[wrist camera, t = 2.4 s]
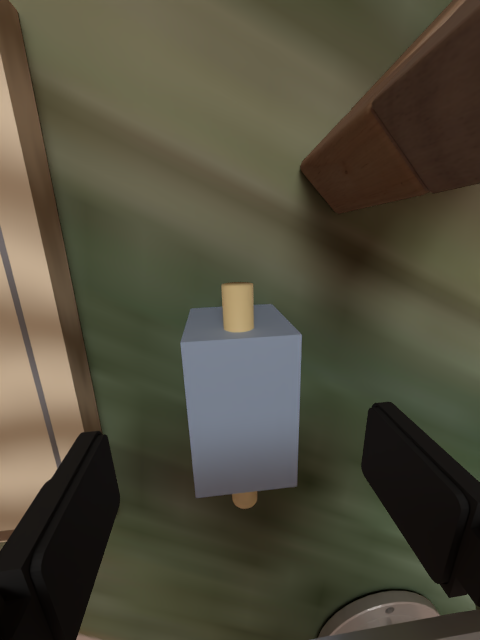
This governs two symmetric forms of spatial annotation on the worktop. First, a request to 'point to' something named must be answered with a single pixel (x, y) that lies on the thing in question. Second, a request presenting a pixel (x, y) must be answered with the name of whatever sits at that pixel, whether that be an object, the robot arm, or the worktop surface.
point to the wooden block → (410, 122)
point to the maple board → (33, 301)
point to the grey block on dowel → (242, 396)
